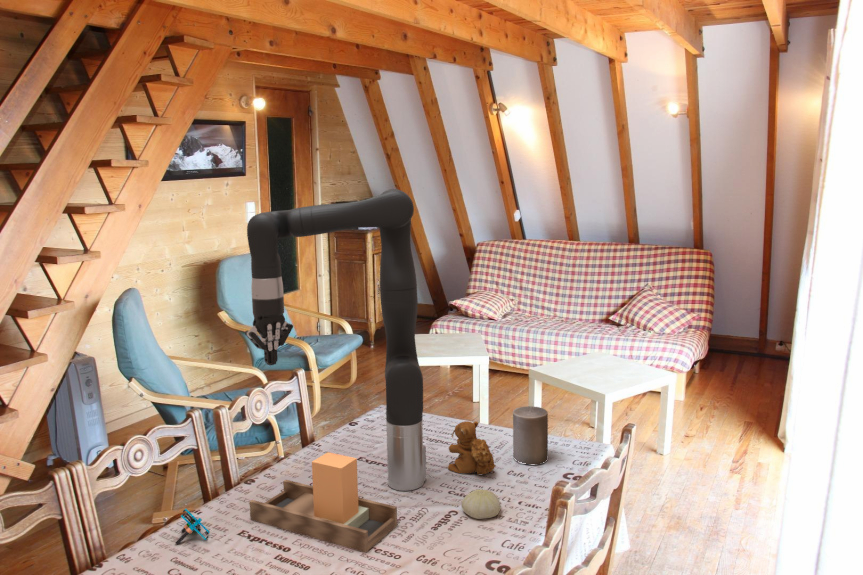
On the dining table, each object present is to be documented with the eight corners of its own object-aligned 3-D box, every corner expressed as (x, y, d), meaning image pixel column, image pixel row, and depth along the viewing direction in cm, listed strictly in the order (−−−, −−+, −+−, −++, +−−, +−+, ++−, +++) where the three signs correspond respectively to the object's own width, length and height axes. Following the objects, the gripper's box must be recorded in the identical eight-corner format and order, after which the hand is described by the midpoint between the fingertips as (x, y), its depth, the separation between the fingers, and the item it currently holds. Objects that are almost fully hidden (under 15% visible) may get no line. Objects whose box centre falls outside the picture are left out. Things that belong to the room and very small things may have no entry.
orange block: (314, 516, 158) (311, 461, 156) (330, 504, 163) (327, 452, 161) (343, 523, 154) (341, 468, 152) (358, 512, 159) (356, 458, 157)
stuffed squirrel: (468, 457, 197) (467, 412, 194) (505, 472, 186) (506, 425, 184) (442, 468, 190) (441, 421, 188) (480, 484, 180) (480, 435, 177)
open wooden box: (250, 519, 163) (249, 501, 162) (286, 496, 174) (285, 479, 173) (365, 552, 148) (365, 532, 147) (397, 525, 159) (396, 506, 159)
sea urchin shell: (505, 496, 169) (500, 484, 162) (500, 529, 164) (494, 518, 158) (469, 491, 172) (462, 479, 165) (462, 523, 167) (455, 512, 161)
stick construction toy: (216, 533, 153) (191, 509, 151) (191, 559, 150) (165, 534, 148) (207, 525, 163) (183, 502, 162) (183, 549, 160) (159, 526, 159)
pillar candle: (553, 456, 196) (553, 404, 194) (539, 468, 188) (539, 415, 186) (521, 449, 202) (521, 399, 199) (506, 461, 194) (506, 409, 191)
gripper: (252, 301, 162) (256, 373, 165) (299, 293, 172) (302, 361, 175) (235, 297, 168) (239, 367, 170) (281, 290, 177) (284, 356, 180)
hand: (271, 364), depth 173 cm, fingers closed
